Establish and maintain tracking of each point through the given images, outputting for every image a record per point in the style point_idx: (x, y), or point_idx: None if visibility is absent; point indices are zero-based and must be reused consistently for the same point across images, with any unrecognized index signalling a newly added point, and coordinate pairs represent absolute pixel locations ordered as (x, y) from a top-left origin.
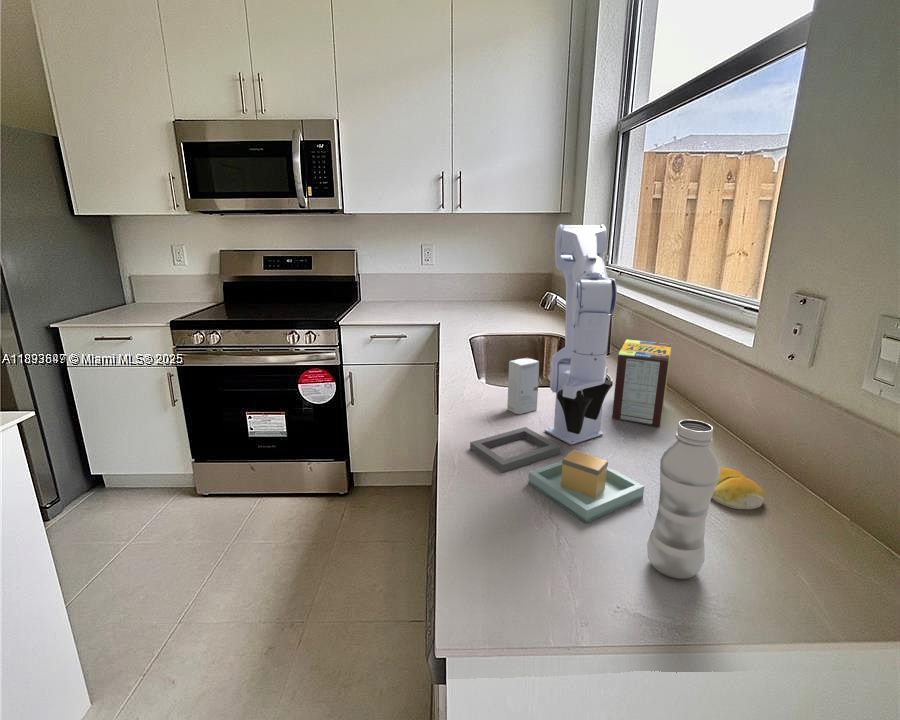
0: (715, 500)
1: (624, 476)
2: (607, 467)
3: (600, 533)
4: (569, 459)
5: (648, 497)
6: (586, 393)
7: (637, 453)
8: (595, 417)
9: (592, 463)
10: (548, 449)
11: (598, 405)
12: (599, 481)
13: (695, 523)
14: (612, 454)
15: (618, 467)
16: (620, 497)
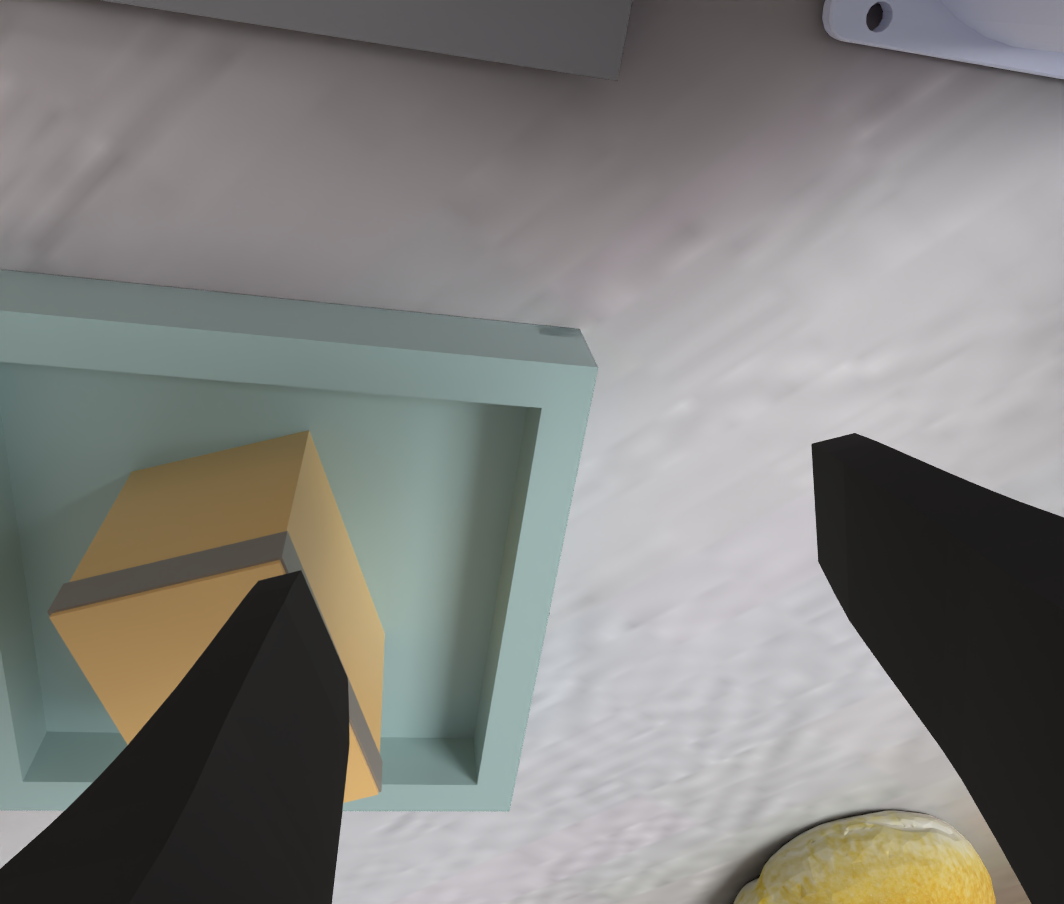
0: (738, 896)
1: (516, 711)
2: (537, 597)
3: (33, 810)
4: (102, 650)
5: (533, 755)
6: (1046, 662)
7: (1021, 461)
8: (832, 578)
9: None
10: (453, 39)
11: (931, 713)
12: None
13: None
14: (894, 367)
15: (731, 500)
16: None
